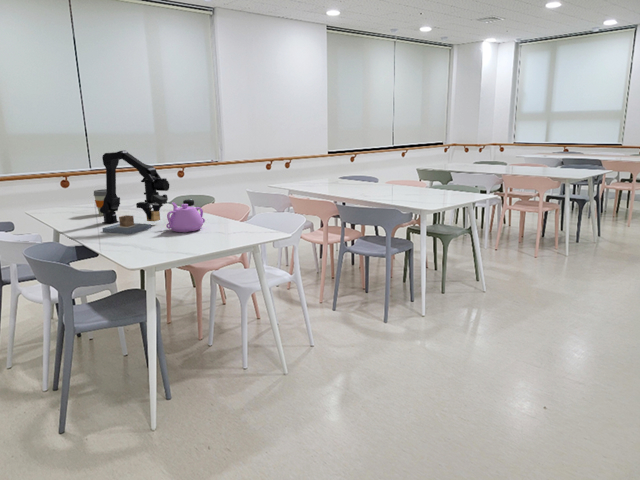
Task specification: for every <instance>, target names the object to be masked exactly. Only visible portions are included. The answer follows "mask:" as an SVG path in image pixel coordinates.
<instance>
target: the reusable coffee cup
mask: <svg viewBox="0 0 640 480" xmlns="http://www.w3.org/2000/svg"><path fill="white" fill-rule="evenodd" d="M93 196H94V199H95V200H94V201H95V202H94V203H95V206H96V208H97V212H98V215H99V216H103V213H101V212H100V208H101V207H102V206H103V202H104V198H105V196H106V188H104V189H96V190H93Z"/></svg>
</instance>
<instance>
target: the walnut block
mask: <svg viewBox="0 0 640 480" xmlns="http://www.w3.org/2000/svg"><path fill="white" fill-rule="evenodd" d="M118 221H119V222H118V223H119V224H120V226H123V227H129V226H132V225H134V223H135V221H134V215H127V214H125V215H122V216H118Z"/></svg>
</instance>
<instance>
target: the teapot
mask: <svg viewBox="0 0 640 480" xmlns="http://www.w3.org/2000/svg"><path fill="white" fill-rule="evenodd" d="M171 204H172V207H173V210H169V211H168V212H167V214H166V218H167V222H168V223H167V224H166V225H165V226H166V229H171V230H172V231H173V232H177V233H178V232H179V233H183V232H184V233H187V232H195V231H199V230H200V229H201V228H202V226H203V225H204V223H205V222H206V219H205V218H204V217H203V216H204V209H203V208H202V207H199V206H197V207H196V206H194V207H196V208H194V207H188V204H183V203H181V207H180V206H179V207H178V205H177V204H176V202H173V201H172V202H171ZM196 209H198V211H197V210H196Z"/></svg>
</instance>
